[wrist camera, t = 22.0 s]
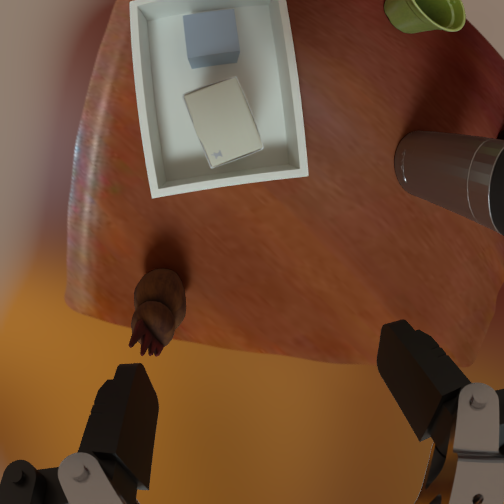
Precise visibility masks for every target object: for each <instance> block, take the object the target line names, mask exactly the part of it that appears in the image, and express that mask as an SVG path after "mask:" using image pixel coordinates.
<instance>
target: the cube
mask: <svg viewBox="0 0 504 504" xmlns="http://www.w3.org/2000/svg"><path fill="white" fill-rule="evenodd" d="M183 23H184V32H185V41H186V49H187V58H188V61H189V63H190V65H191V68H192V69H195V68H201V67H208V66H215V65H222V64H230V63H237V61H238V57H239V53H240V47H239V40H238V33H237V26H236V19H235V13H234V9H227V10H218V11H210V12H203V13H196V14H190V15H184V16H183Z"/></svg>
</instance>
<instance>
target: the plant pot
mask: <svg viewBox="0 0 504 504" xmlns="http://www.w3.org/2000/svg"><path fill="white" fill-rule="evenodd" d="M384 11H385V14H386V15H387V16H388V18H389V20H390V22H391V23H392V24H393V25H394V26H395V27H396V28H397V29H399V30H400V31H402V32H405V33H417V32H423V31H430V30H437V29H439V30H445V31H449V32H455V31H459V30H460V29H462V27H463V26H464V24H465V18H466V16H465V10H464V6H463V3H462V1H461V0H386V1H385V4H384Z"/></svg>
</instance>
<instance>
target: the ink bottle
mask: <svg viewBox="0 0 504 504" xmlns="http://www.w3.org/2000/svg"><path fill="white" fill-rule="evenodd" d="M498 139H500V140H504V130H503V131H502V132H501V133H500V135H499V137H498Z"/></svg>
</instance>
